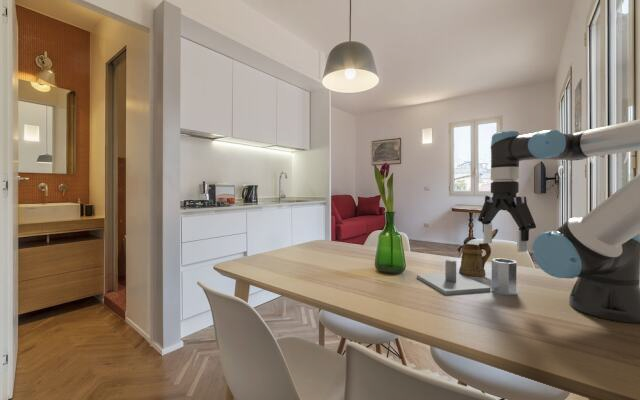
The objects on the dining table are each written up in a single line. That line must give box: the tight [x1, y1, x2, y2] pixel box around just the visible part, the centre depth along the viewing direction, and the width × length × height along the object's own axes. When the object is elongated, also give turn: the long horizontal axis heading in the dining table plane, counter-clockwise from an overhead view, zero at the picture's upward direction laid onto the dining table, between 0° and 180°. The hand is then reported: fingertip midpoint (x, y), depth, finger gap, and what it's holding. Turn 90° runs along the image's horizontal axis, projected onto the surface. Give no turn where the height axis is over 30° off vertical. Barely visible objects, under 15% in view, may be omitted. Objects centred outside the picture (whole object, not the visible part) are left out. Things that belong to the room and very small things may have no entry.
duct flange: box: [416, 259, 492, 296], centre depth 99 cm, size 18×16×8 cm
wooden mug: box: [458, 228, 499, 277], centre depth 111 cm, size 9×14×18 cm, turn 71°
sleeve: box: [491, 257, 518, 296], centre depth 91 cm, size 7×7×10 cm
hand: (503, 247), depth 91 cm, fingers open, 13 cm apart
